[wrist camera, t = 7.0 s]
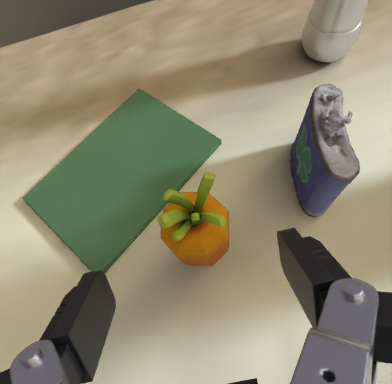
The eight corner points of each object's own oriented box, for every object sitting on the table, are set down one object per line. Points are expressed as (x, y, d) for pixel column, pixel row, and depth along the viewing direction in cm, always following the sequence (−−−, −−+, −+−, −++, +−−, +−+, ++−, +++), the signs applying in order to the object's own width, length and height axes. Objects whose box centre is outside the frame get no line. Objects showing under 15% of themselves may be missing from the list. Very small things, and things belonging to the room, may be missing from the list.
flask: (327, 216, 28) (376, 165, 18) (297, 218, 28) (329, 168, 19) (313, 139, 32) (347, 62, 22) (286, 141, 32) (308, 66, 22)
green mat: (221, 143, 33) (221, 139, 32) (100, 278, 29) (96, 277, 28) (141, 92, 38) (139, 87, 37) (26, 200, 33) (22, 198, 33)
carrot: (221, 222, 29) (208, 143, 16) (241, 267, 27) (245, 222, 13) (177, 239, 29) (125, 176, 15) (193, 286, 27) (150, 261, 13)
